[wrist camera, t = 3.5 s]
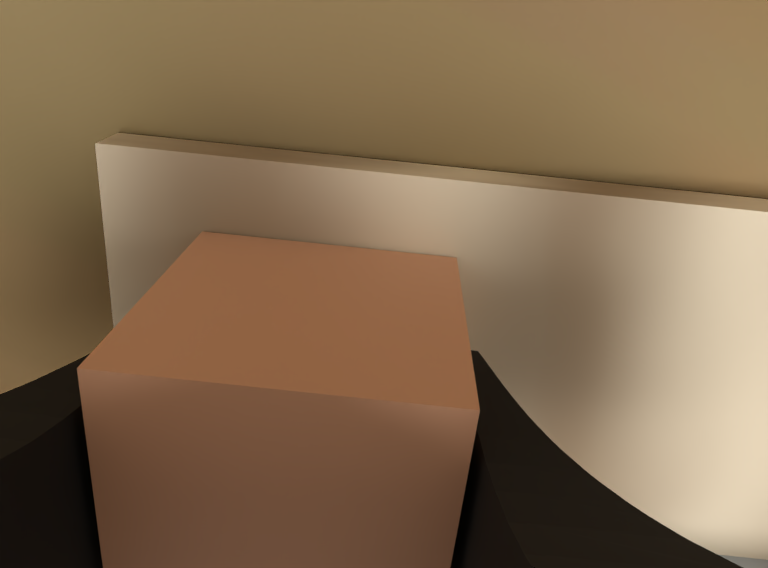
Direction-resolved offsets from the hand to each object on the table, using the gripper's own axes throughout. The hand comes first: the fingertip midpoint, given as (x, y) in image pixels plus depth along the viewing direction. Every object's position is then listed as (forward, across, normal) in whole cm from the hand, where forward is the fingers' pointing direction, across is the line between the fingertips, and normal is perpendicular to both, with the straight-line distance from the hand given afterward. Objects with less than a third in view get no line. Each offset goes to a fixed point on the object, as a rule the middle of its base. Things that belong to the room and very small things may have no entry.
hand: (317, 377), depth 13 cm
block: (+1, 0, 0) cm, 1 cm away
